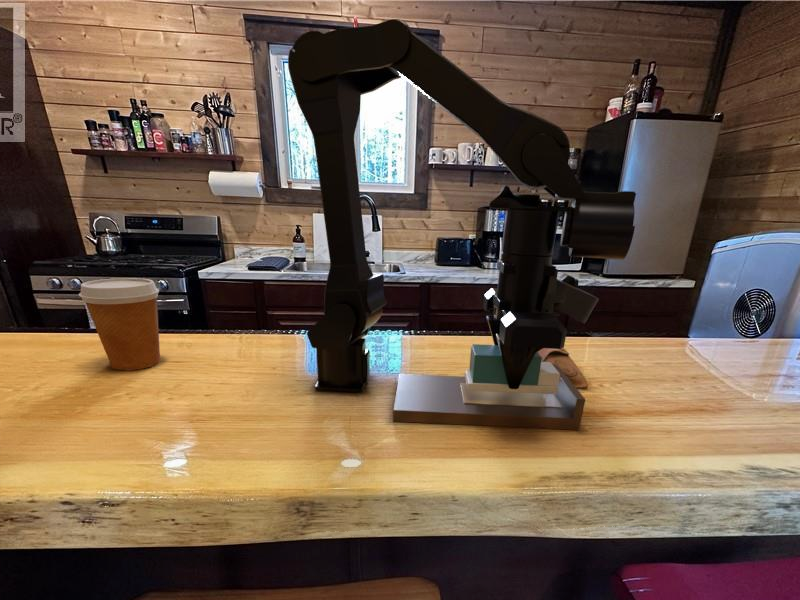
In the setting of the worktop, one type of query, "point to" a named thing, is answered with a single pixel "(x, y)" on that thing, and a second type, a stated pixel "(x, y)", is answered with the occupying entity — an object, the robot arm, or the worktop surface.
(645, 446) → the worktop surface
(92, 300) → the disposable coffee cup
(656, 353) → the worktop surface
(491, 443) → the worktop surface
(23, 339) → the worktop surface
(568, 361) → the sunglasses case
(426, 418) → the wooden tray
